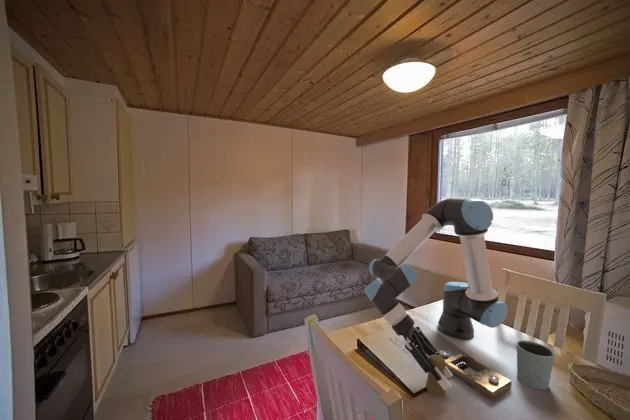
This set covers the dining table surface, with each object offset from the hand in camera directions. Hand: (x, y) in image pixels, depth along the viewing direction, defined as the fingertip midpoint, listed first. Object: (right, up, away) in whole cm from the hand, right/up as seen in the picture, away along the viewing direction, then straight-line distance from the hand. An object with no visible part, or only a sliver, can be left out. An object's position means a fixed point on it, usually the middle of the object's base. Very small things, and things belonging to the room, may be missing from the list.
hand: (448, 382), depth 85 cm
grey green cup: (+33, -4, +7) cm, 34 cm away
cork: (-3, -4, +2) cm, 6 cm away
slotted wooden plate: (+12, -3, +10) cm, 16 cm away
